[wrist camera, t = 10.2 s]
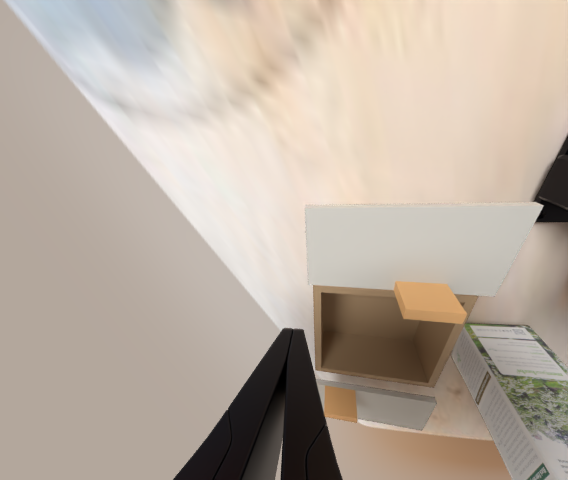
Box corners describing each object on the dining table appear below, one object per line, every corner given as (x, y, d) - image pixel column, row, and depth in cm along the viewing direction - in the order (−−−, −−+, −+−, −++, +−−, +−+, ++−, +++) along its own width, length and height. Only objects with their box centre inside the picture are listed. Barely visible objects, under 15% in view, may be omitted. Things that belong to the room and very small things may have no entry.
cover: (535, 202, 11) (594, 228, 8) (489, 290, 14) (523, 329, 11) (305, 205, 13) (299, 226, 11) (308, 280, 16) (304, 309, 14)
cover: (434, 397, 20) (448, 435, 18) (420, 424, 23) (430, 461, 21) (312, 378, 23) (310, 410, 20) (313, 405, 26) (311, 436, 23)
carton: (445, 254, 19) (478, 296, 14) (416, 339, 24) (433, 387, 20) (317, 250, 21) (313, 286, 17) (318, 329, 27) (315, 370, 22)
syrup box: (448, 355, 25) (563, 595, 12) (460, 319, 22) (622, 585, 10) (510, 359, 23) (709, 636, 11) (530, 322, 20) (828, 638, 8)
